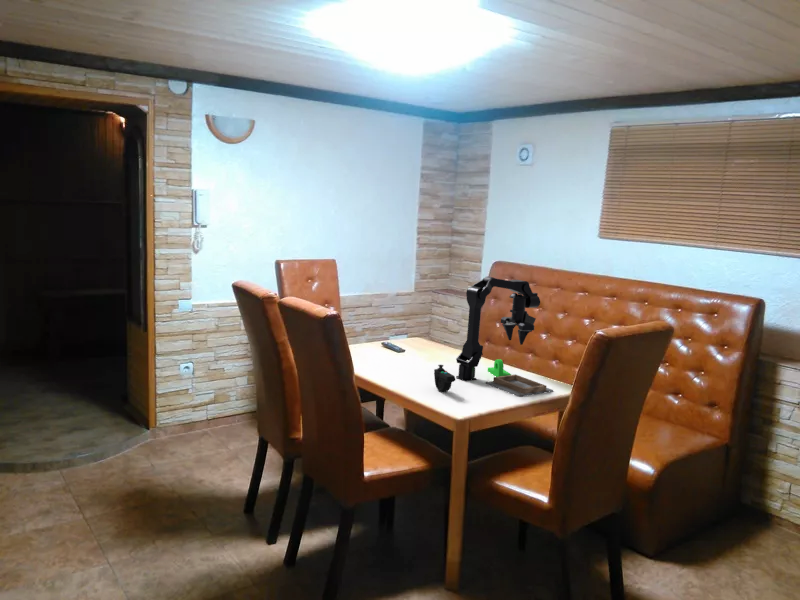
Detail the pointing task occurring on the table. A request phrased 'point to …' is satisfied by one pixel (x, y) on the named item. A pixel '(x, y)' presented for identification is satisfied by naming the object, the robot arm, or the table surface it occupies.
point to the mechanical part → (498, 369)
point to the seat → (518, 385)
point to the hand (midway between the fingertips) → (515, 342)
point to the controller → (443, 379)
